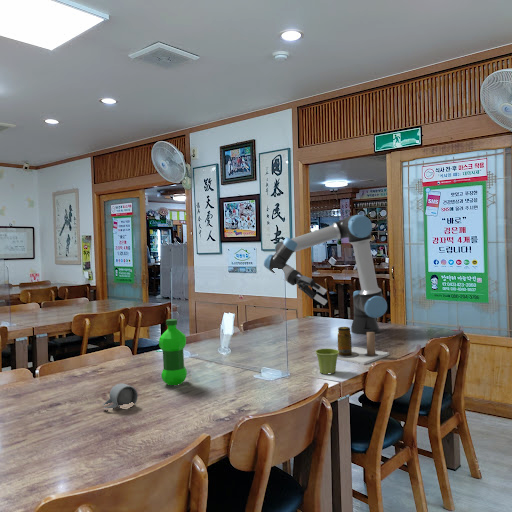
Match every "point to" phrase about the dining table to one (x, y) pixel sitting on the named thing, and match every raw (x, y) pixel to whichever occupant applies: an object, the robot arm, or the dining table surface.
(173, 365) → the plastic bottle
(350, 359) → the board
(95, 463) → the dining table surface
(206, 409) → the dining table surface
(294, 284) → the robot arm
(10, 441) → the dining table surface
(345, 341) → the condiment
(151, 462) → the dining table surface
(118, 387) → the ceramic mug
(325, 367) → the plant pot
